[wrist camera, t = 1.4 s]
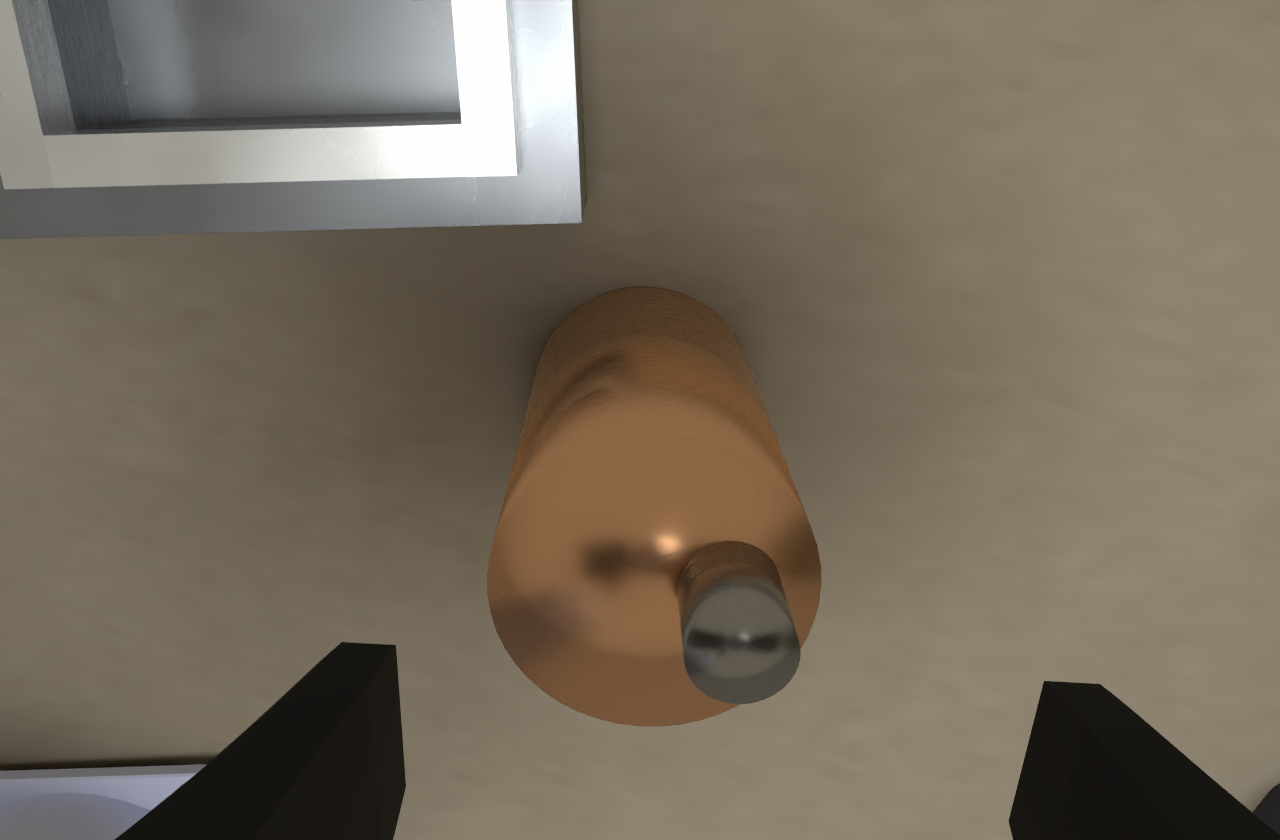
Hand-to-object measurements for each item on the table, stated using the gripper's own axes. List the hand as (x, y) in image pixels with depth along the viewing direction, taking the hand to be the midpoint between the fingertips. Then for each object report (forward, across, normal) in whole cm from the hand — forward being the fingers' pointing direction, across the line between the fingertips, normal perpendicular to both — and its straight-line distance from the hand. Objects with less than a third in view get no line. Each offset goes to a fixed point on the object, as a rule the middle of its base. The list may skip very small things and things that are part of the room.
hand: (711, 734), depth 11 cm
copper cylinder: (+10, +1, 0) cm, 11 cm away
